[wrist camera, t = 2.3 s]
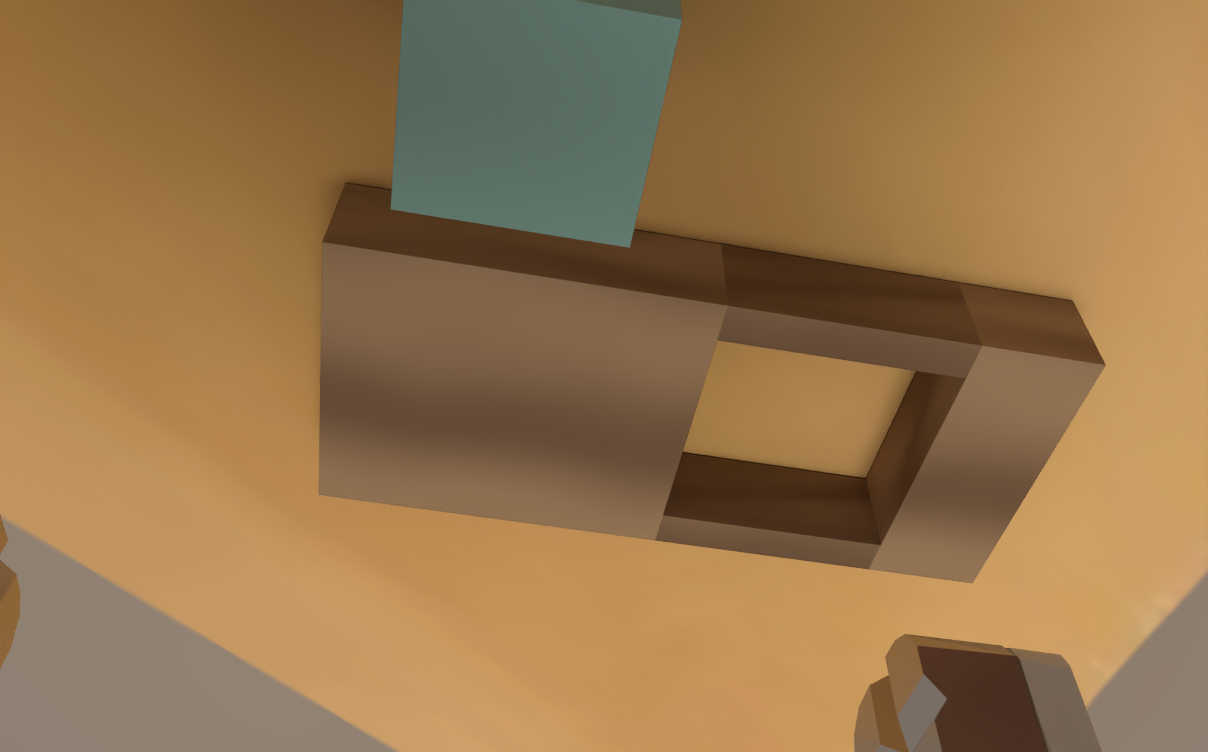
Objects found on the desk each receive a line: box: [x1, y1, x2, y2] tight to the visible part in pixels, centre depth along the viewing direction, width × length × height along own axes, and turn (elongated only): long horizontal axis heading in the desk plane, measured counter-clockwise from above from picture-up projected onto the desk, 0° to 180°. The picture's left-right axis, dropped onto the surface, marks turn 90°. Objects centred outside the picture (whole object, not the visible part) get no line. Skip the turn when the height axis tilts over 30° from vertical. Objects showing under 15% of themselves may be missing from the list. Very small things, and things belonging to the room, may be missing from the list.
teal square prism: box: [391, 0, 682, 248], centre depth 20 cm, size 4×4×7 cm
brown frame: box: [319, 183, 1106, 583], centre depth 28 cm, size 8×18×2 cm, turn 80°
